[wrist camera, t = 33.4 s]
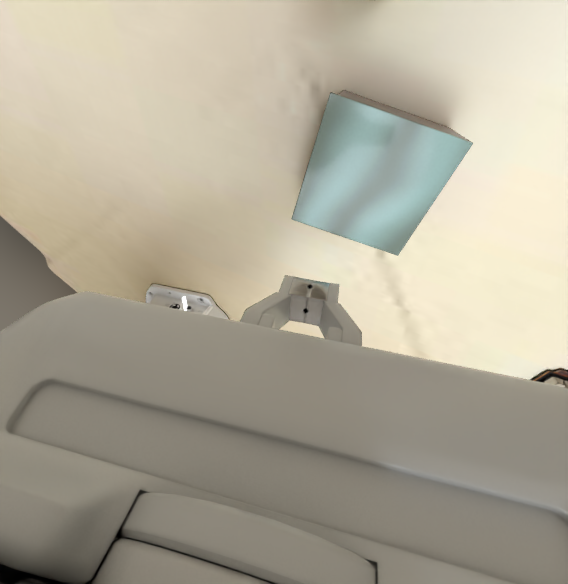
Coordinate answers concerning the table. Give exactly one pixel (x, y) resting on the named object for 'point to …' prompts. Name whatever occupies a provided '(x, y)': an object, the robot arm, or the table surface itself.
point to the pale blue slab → (374, 174)
